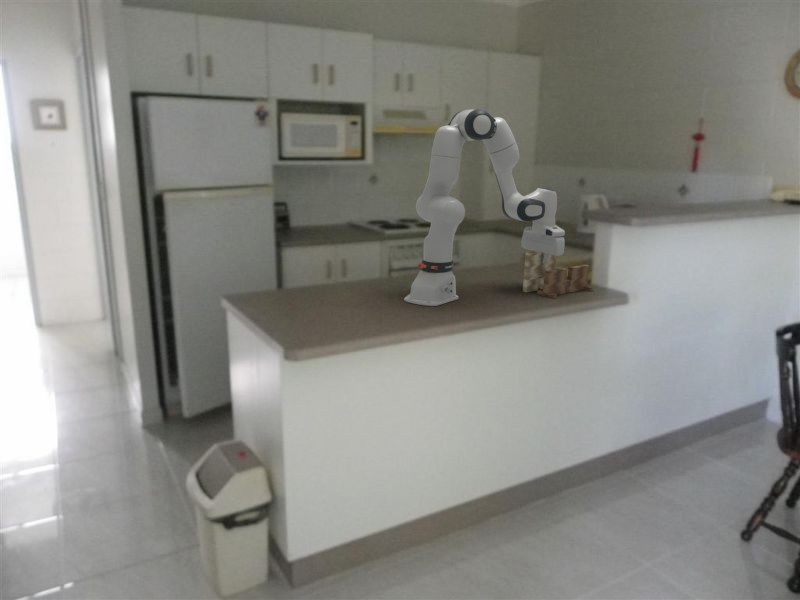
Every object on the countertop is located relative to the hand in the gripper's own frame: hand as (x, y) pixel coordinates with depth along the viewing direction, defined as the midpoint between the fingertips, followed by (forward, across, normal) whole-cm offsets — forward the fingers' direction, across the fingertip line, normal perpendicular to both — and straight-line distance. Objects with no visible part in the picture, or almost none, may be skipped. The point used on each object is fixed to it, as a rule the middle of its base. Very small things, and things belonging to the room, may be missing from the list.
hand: (540, 262), depth 242 cm
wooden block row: (+11, +9, +6) cm, 15 cm away
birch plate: (+11, 0, 0) cm, 11 cm away
